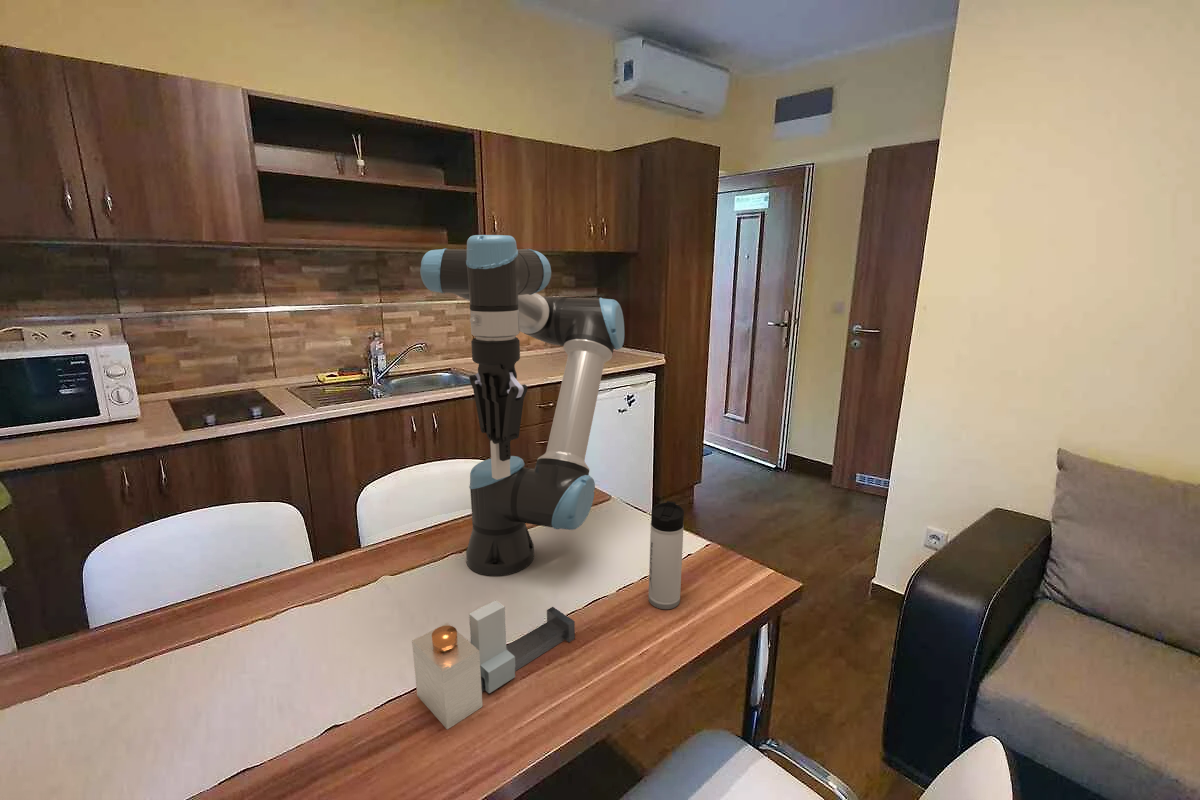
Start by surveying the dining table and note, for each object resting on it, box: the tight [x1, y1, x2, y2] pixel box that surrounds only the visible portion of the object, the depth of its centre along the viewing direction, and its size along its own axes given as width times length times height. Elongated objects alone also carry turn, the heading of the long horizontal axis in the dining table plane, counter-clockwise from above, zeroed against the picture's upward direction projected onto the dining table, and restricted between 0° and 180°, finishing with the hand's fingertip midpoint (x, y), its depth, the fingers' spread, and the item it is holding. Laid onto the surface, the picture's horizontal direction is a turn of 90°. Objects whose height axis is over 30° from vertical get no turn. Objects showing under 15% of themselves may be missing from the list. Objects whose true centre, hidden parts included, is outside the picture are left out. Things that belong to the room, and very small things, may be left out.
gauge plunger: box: [432, 625, 458, 653], centre depth 83 cm, size 4×4×9 cm
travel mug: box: [647, 500, 685, 610], centre depth 108 cm, size 6×7×20 cm
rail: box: [411, 606, 576, 731], centre depth 91 cm, size 9×26×10 cm, turn 135°
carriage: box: [468, 599, 516, 694], centre depth 89 cm, size 7×5×12 cm
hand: (501, 476), depth 93 cm, fingers closed
